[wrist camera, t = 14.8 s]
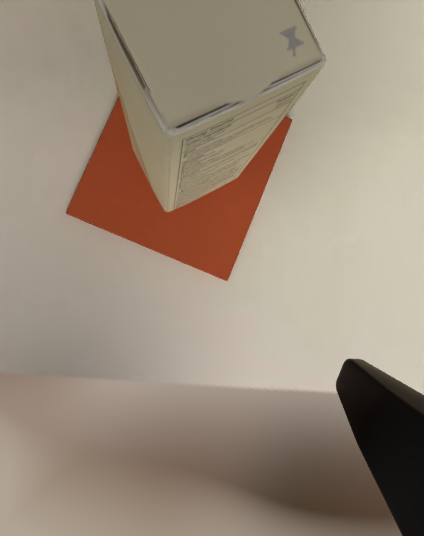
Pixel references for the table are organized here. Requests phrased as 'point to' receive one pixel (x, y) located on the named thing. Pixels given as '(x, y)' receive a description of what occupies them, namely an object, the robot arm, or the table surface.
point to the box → (205, 84)
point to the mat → (181, 219)
